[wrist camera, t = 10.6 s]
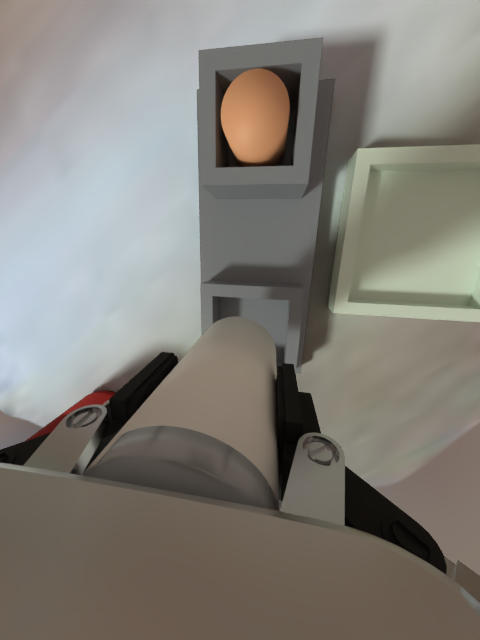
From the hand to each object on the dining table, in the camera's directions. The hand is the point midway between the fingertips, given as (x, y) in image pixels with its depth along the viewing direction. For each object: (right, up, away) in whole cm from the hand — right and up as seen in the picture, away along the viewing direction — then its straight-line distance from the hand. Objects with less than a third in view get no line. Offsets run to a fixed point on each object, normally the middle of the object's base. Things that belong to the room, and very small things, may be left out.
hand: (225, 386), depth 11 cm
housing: (+2, +10, +10) cm, 14 cm away
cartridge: (+1, +1, +4) cm, 4 cm away
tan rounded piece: (+2, +16, +6) cm, 17 cm away
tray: (+15, +10, +8) cm, 20 cm away
